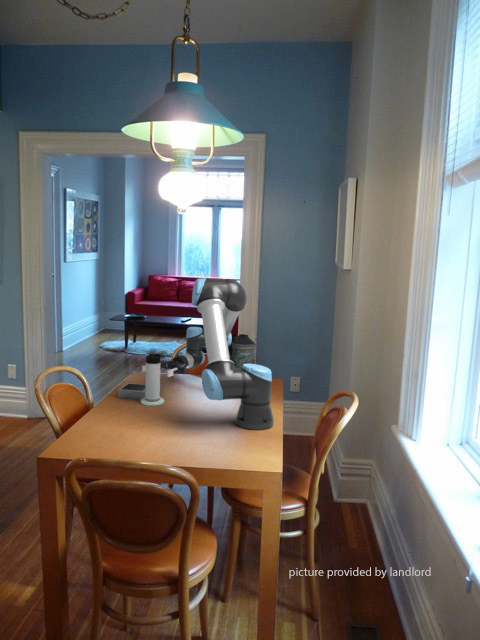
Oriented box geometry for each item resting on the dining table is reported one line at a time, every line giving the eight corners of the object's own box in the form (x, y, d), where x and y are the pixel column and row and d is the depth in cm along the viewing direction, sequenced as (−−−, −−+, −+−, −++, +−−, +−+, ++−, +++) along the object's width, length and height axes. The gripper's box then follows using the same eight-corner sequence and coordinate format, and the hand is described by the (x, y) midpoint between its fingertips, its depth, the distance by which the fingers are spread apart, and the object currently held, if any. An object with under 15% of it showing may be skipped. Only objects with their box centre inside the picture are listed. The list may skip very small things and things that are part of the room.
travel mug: (163, 399, 219) (164, 355, 217) (151, 402, 215) (151, 357, 212) (154, 396, 224) (155, 352, 221) (142, 399, 219) (142, 354, 216)
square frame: (143, 399, 223) (143, 391, 222) (117, 397, 224) (117, 389, 224) (151, 392, 235) (152, 384, 234) (127, 390, 236) (127, 382, 236)
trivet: (160, 406, 214) (160, 404, 214) (137, 404, 215) (137, 402, 215) (166, 400, 224) (166, 397, 223) (145, 398, 225) (145, 395, 225)
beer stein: (250, 389, 246) (252, 339, 242) (215, 383, 254) (217, 335, 250) (263, 382, 261) (265, 335, 257) (229, 377, 269) (231, 330, 265)
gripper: (204, 374, 233) (178, 384, 214) (160, 366, 244) (132, 375, 225) (205, 358, 232) (179, 367, 213) (161, 351, 243) (132, 359, 224)
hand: (155, 371), depth 219 cm, fingers open, 13 cm apart
